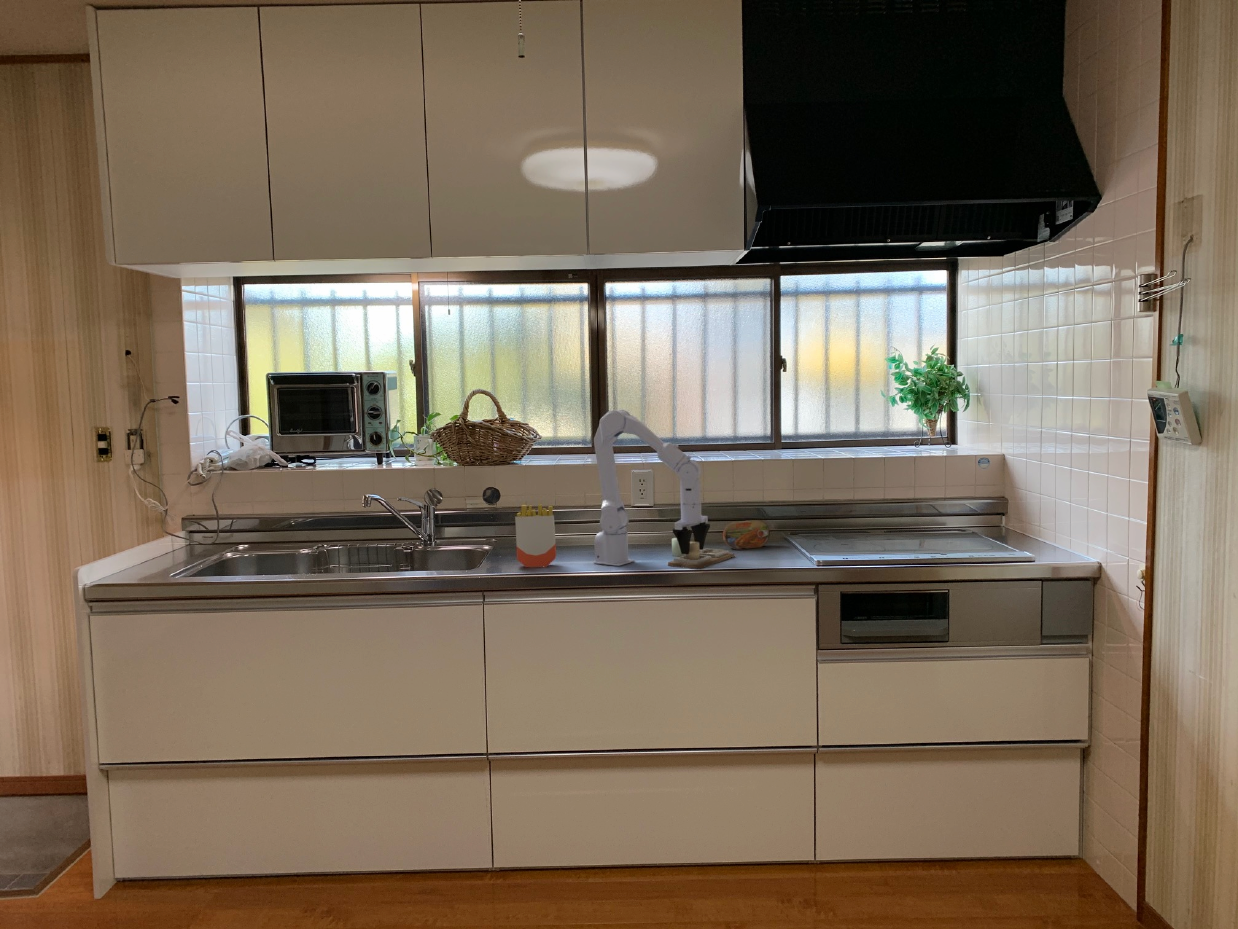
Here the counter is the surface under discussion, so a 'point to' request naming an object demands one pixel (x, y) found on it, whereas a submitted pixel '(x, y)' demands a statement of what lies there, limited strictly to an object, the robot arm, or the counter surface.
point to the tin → (746, 534)
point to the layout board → (702, 559)
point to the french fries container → (535, 536)
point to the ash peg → (693, 551)
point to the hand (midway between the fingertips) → (692, 551)
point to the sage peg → (676, 548)
